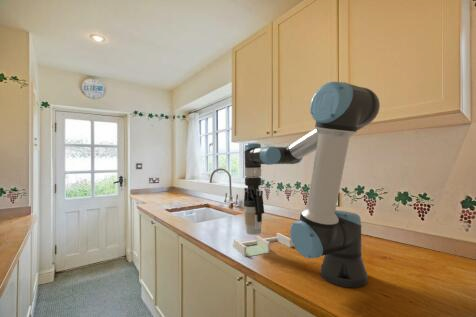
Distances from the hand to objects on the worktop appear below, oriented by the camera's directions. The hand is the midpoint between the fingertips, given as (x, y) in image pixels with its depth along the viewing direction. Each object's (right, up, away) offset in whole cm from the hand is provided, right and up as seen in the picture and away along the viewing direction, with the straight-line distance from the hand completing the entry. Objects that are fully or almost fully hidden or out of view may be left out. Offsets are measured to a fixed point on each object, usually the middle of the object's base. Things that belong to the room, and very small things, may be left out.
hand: (253, 226), depth 110 cm
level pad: (0, -11, 0) cm, 11 cm away
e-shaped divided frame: (+4, -11, +5) cm, 13 cm away
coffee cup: (0, -3, 0) cm, 3 cm away
